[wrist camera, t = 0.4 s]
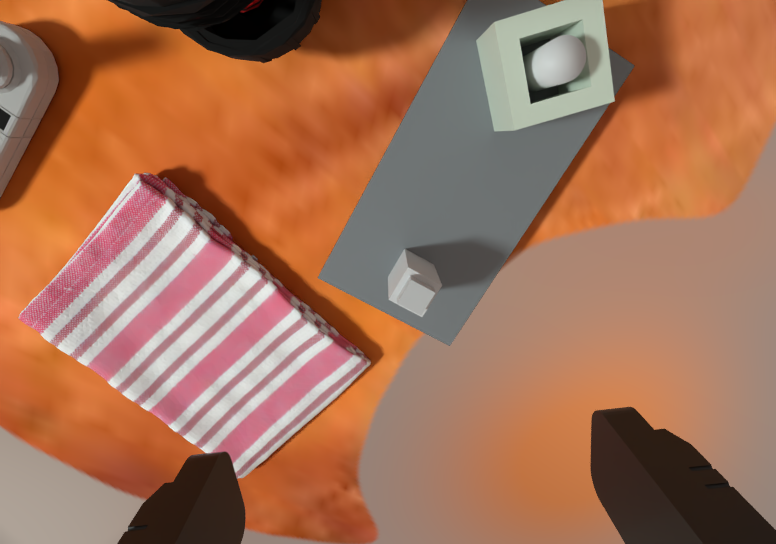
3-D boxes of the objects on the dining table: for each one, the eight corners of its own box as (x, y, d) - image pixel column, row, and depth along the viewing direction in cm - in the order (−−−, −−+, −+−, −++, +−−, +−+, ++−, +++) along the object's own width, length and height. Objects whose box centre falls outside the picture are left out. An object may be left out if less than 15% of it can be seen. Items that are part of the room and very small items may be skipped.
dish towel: (157, 161, 33) (132, 163, 30) (375, 356, 39) (375, 377, 35) (34, 309, 37) (-1, 326, 34) (249, 470, 42) (238, 499, 39)
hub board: (447, 338, 37) (462, 387, 30) (320, 272, 36) (304, 307, 28) (623, 69, 31) (696, 48, 24) (481, -27, 30) (514, -81, 22)
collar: (494, 131, 31) (514, 130, 26) (476, 40, 29) (494, 21, 25) (578, 106, 31) (614, 101, 26) (565, 13, 29) (600, -11, 24)
